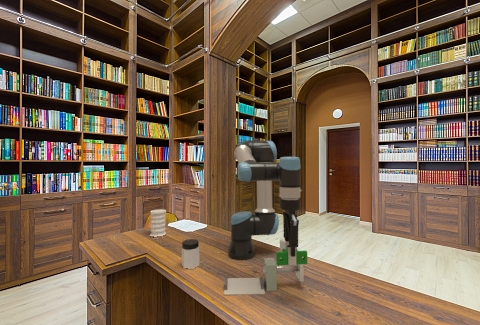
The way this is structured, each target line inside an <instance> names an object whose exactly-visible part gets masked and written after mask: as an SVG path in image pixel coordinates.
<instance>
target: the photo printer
mask: <svg viewBox="0 0 480 325" xmlns="http://www.w3.org/2000/svg"><path fill="white" fill-rule="evenodd" d="M285 242H286V241H285V238H284V236H283V237H280V239H279V252H282V249H285ZM296 249H297V250H298V247H296ZM280 259H282V258H280Z"/></svg>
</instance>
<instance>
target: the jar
mask: <svg viewBox="0 0 480 325" xmlns="http://www.w3.org/2000/svg"><path fill="white" fill-rule="evenodd" d="M199 243H200V241H199V240H198V239H194V238H190V239H185V240H183V241H182V242H181V267H182V266H183V267H182V268H183V269H184V268H188V269H187V270H194V269H196V268H197V266H198V267H199V266H200V245H199ZM195 267H196V268H195ZM193 268H194V269H193Z"/></svg>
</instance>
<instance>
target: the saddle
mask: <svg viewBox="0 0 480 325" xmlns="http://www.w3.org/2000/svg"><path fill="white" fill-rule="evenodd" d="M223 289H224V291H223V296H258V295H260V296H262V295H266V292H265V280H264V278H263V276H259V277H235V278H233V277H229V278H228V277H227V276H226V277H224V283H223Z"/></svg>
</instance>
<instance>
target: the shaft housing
mask: <svg viewBox="0 0 480 325" xmlns="http://www.w3.org/2000/svg"><path fill="white" fill-rule="evenodd" d="M263 260H264V261H263V262H264V263H263V264H264V265H263V266H266V272H263V275H264V278H263V281H264V286H265V289H266V292H273V291H274V292H275V291H277V292H278V274H277V273H278V272H277V262H276V260H275V258H274V257H264V258H263Z"/></svg>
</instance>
